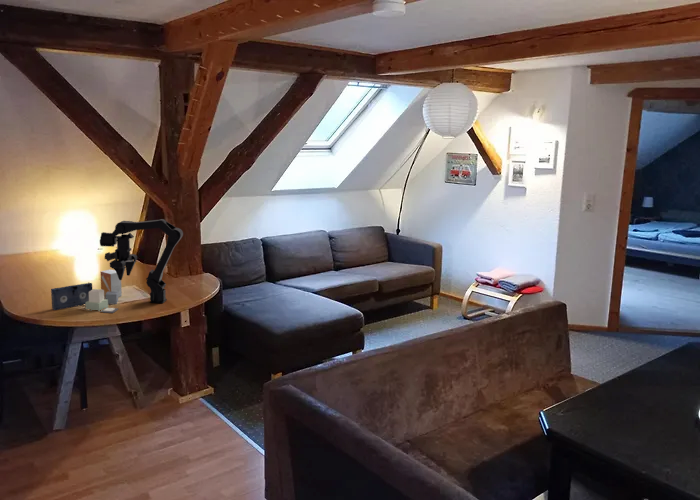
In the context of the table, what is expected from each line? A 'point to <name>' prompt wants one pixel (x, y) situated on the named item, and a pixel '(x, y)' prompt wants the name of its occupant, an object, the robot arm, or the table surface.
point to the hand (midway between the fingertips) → (124, 277)
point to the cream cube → (96, 295)
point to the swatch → (109, 310)
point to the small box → (110, 282)
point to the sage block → (97, 305)
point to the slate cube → (112, 297)
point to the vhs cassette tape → (70, 296)
